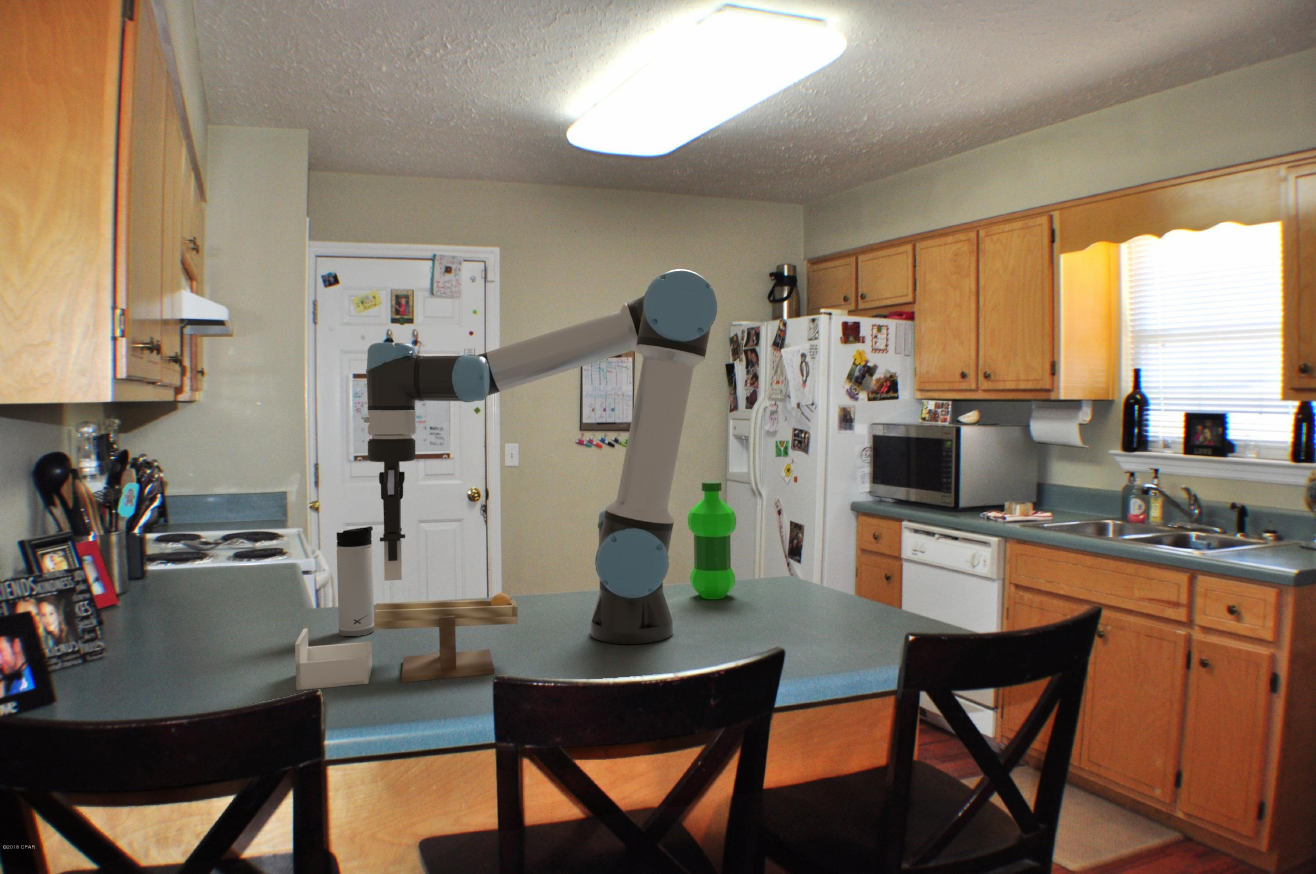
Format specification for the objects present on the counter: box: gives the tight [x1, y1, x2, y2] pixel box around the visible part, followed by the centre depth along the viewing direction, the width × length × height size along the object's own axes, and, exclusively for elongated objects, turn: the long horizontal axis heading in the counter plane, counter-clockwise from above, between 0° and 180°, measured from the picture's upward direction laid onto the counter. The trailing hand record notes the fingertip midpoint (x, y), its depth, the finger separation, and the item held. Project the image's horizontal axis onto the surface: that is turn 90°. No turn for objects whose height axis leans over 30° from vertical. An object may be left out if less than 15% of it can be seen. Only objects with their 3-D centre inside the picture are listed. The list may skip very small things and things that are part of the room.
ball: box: [491, 592, 511, 606], centre depth 140 cm, size 3×3×3 cm
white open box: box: [294, 627, 373, 691], centre depth 133 cm, size 10×9×7 cm
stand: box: [401, 615, 495, 683], centre depth 138 cm, size 14×11×9 cm
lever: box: [374, 598, 519, 631], centre depth 141 cm, size 22×12×3 cm, turn 105°
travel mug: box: [336, 525, 375, 637], centre depth 159 cm, size 6×7×20 cm
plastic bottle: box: [687, 481, 737, 600], centre depth 186 cm, size 10×10×25 cm
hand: (393, 579), depth 141 cm, fingers closed
